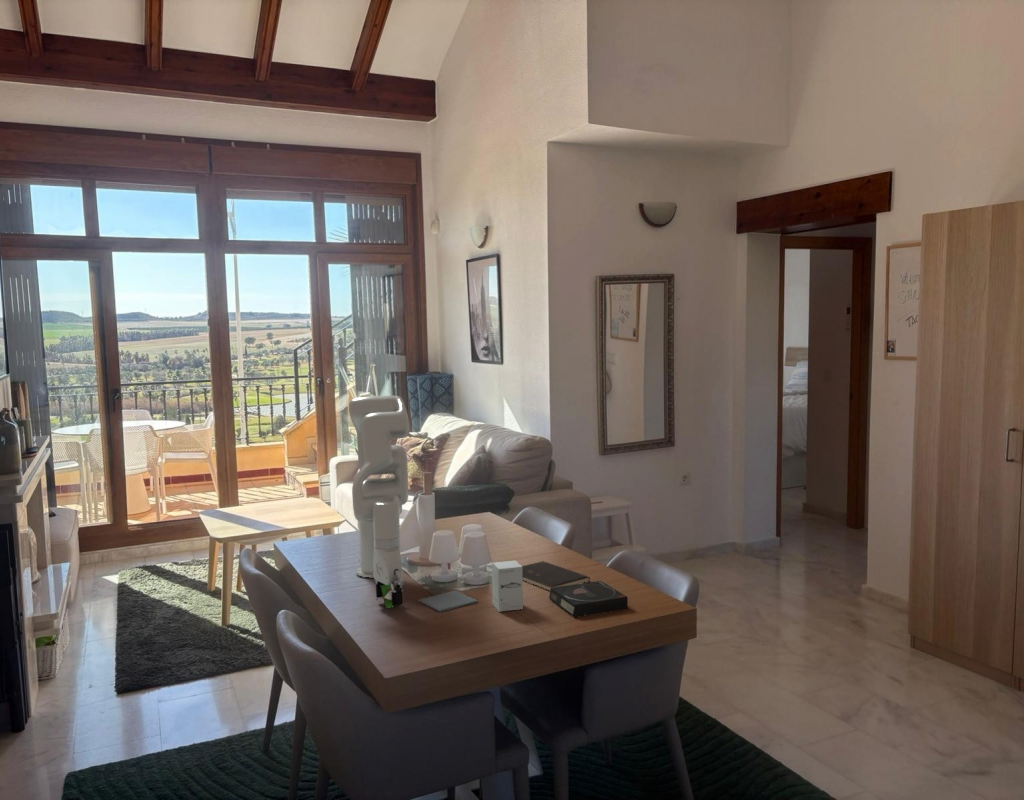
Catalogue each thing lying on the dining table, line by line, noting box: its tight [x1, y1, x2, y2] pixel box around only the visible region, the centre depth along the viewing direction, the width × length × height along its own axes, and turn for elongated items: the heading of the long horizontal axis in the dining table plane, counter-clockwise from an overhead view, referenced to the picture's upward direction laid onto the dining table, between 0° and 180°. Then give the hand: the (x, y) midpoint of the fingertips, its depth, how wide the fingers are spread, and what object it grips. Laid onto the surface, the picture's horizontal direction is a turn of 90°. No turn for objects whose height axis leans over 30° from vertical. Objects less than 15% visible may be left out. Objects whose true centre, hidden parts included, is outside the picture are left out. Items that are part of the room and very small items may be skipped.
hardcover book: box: [521, 560, 591, 592], centre depth 256 cm, size 16×23×2 cm
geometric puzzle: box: [375, 584, 404, 610], centre depth 232 cm, size 7×7×8 cm
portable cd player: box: [548, 580, 629, 618], centre depth 230 cm, size 16×17×4 cm
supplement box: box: [491, 560, 524, 613], centre depth 229 cm, size 7×7×13 cm
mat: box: [417, 590, 478, 613], centre depth 235 cm, size 12×13×1 cm
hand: (389, 600), depth 232 cm, fingers open, 9 cm apart
